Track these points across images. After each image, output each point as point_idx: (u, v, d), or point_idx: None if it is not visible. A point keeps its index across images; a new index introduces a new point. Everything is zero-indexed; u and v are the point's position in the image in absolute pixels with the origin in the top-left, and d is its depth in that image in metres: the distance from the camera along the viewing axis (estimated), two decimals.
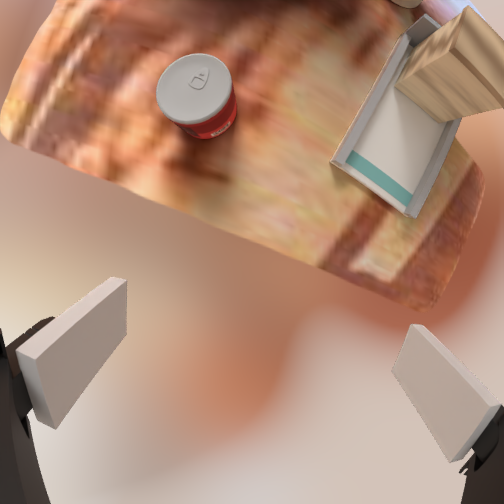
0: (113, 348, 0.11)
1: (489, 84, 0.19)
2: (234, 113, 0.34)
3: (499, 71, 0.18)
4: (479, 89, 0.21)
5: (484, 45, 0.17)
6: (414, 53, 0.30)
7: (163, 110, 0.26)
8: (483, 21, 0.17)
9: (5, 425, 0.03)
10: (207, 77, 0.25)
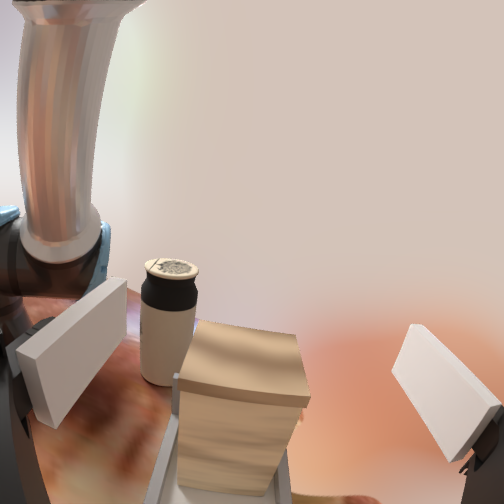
0: (113, 348, 0.11)
1: (257, 393, 0.19)
2: None
3: (267, 367, 0.22)
4: (256, 414, 0.20)
5: (231, 351, 0.23)
6: None
7: None
8: (225, 326, 0.27)
9: (5, 425, 0.03)
10: None
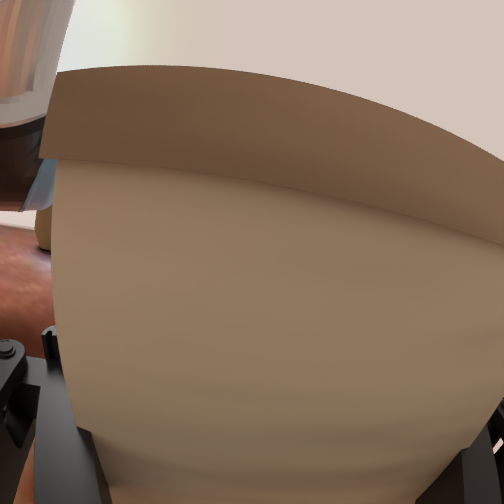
0: None
1: (471, 160, 0.03)
2: None
3: None
4: (443, 322, 0.04)
5: None
6: None
7: None
8: None
9: None
10: None
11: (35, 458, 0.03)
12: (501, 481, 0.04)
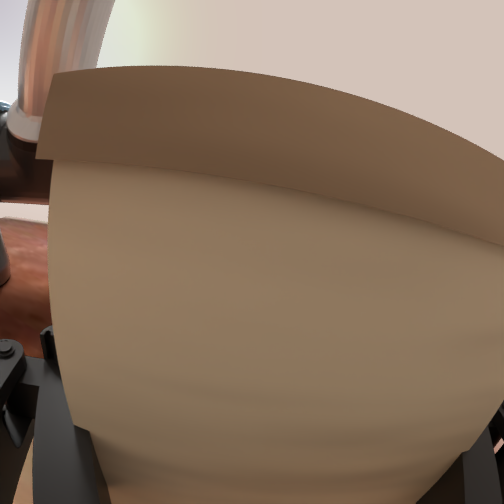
0: None
1: (470, 159, 0.03)
2: None
3: None
4: (442, 325, 0.04)
5: None
6: None
7: None
8: None
9: (82, 428, 0.04)
10: None
11: (34, 458, 0.03)
12: (501, 481, 0.04)
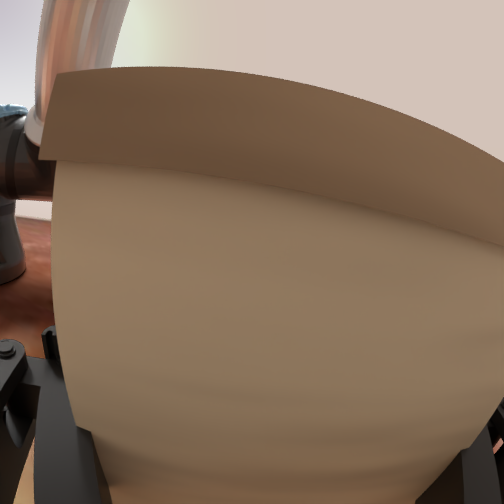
0: None
1: (471, 161, 0.03)
2: None
3: None
4: (442, 323, 0.04)
5: None
6: None
7: None
8: None
9: None
10: None
11: (35, 458, 0.03)
12: (501, 481, 0.04)
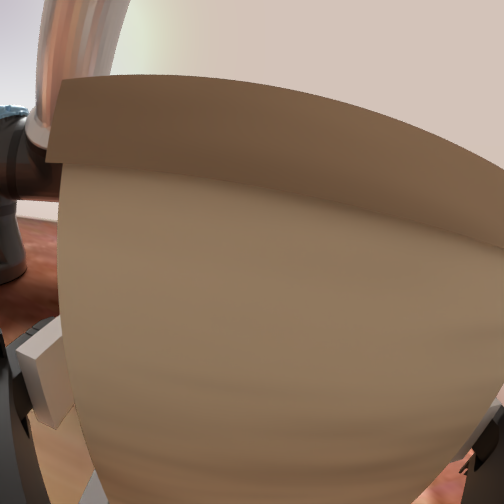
0: None
1: (460, 163, 0.03)
2: None
3: None
4: (433, 320, 0.04)
5: None
6: None
7: None
8: None
9: (5, 425, 0.03)
10: None
11: None
12: None
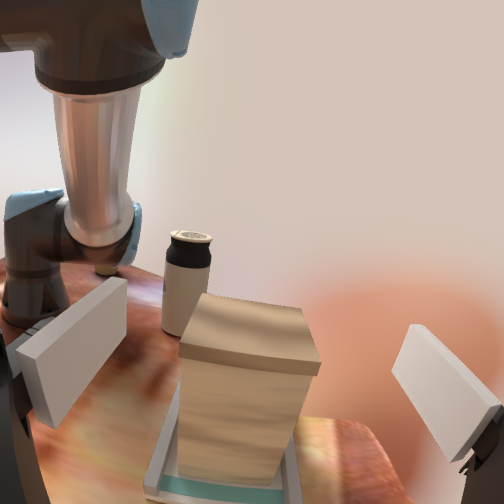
0: (113, 348, 0.11)
1: (264, 359, 0.18)
2: None
3: (273, 335, 0.21)
4: (263, 385, 0.19)
5: (235, 320, 0.23)
6: None
7: None
8: (228, 299, 0.27)
9: (5, 425, 0.03)
10: None
11: None
12: None
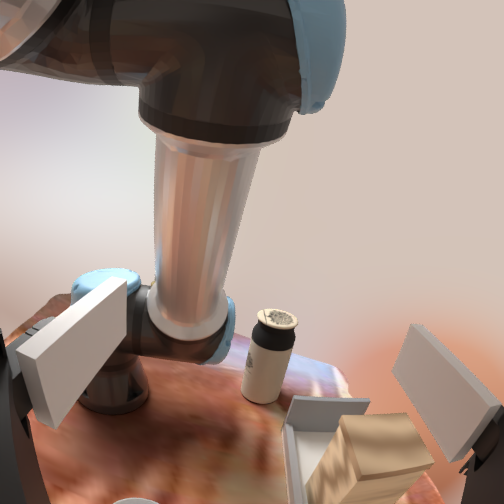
0: (113, 348, 0.11)
1: (407, 469, 0.20)
2: None
3: (404, 447, 0.23)
4: (399, 479, 0.21)
5: (378, 441, 0.25)
6: (311, 490, 0.30)
7: None
8: (361, 417, 0.29)
9: (5, 425, 0.03)
10: None
11: None
12: None
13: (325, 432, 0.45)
